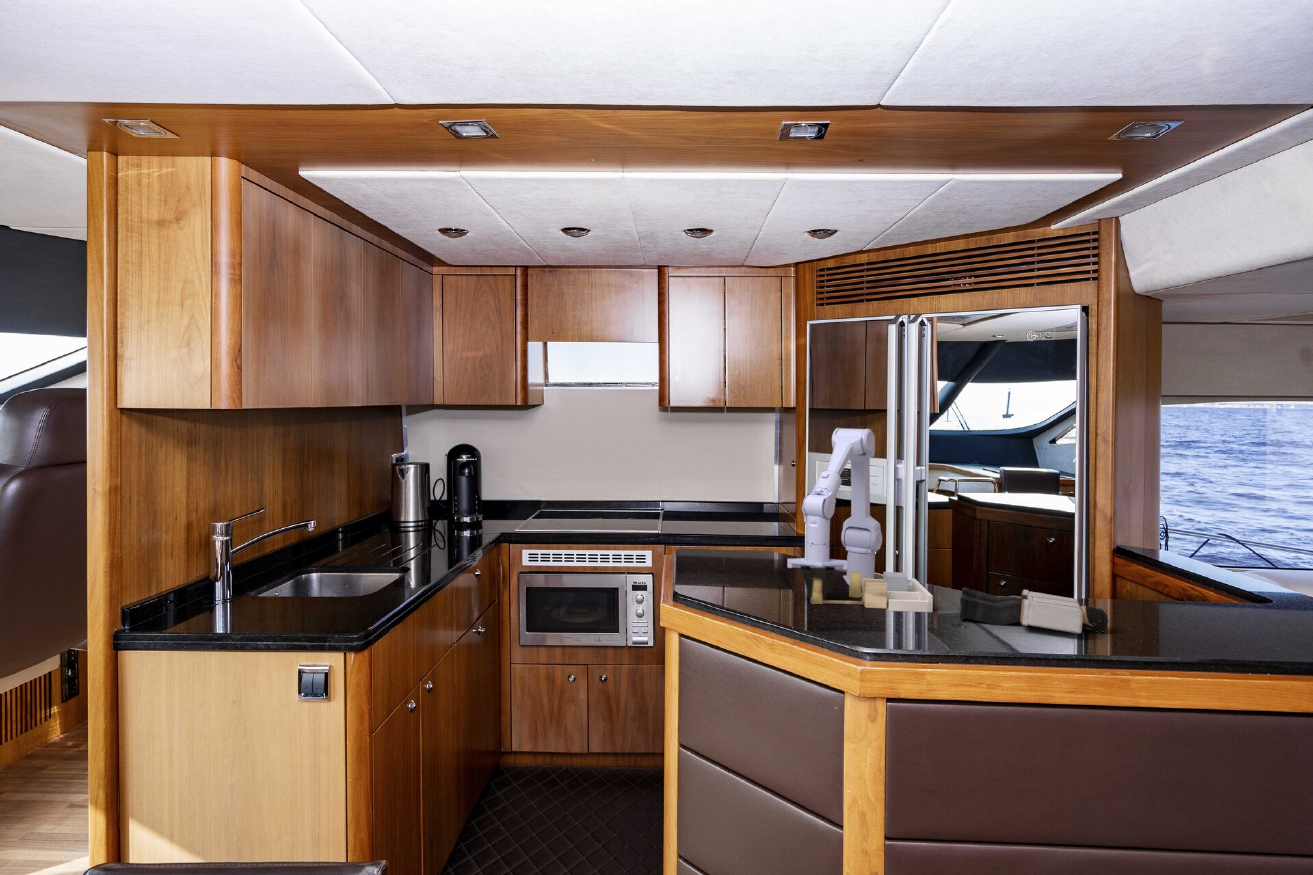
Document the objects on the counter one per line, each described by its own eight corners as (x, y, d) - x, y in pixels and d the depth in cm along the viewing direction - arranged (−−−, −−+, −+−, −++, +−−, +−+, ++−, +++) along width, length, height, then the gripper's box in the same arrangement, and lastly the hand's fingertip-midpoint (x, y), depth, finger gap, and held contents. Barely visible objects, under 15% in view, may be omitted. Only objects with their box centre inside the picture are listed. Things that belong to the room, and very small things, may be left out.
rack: (875, 592, 192) (875, 577, 192) (914, 593, 191) (914, 578, 191) (889, 610, 175) (889, 594, 175) (932, 612, 174) (932, 595, 174)
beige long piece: (809, 600, 184) (809, 576, 184) (882, 602, 182) (882, 579, 182) (811, 605, 179) (811, 581, 179) (886, 608, 177) (887, 583, 177)
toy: (957, 624, 164) (1113, 646, 151) (959, 593, 164) (1114, 613, 151) (963, 608, 182) (1103, 627, 168) (964, 580, 182) (1104, 597, 168)
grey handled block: (847, 593, 191) (848, 570, 191) (902, 595, 190) (903, 572, 189) (850, 598, 186) (851, 575, 186) (906, 600, 185) (907, 576, 184)
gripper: (789, 545, 177) (788, 600, 178) (850, 546, 176) (849, 602, 177) (787, 539, 184) (786, 592, 185) (845, 541, 183) (844, 594, 184)
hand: (816, 596), depth 181 cm, fingers closed on beige long piece, 3 cm apart
